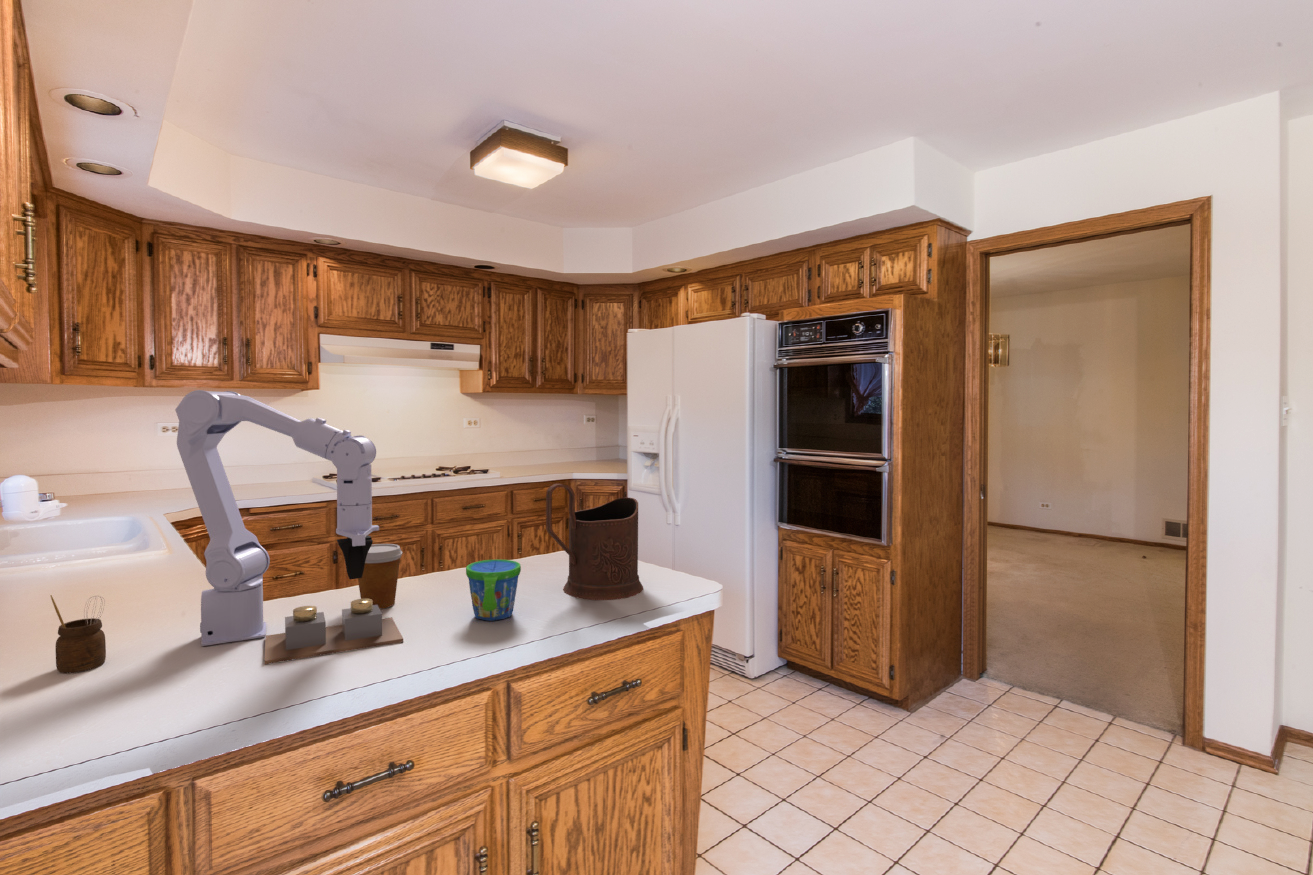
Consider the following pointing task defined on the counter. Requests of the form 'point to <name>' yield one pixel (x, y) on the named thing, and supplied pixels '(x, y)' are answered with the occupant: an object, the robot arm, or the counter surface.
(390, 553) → the disposable coffee cup
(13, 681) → the counter surface
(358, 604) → the brass round knob
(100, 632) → the utensil holder
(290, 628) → the twin gray blocks
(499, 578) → the snack cup
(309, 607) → the left plunger
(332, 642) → the walnut board
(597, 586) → the cup holder
